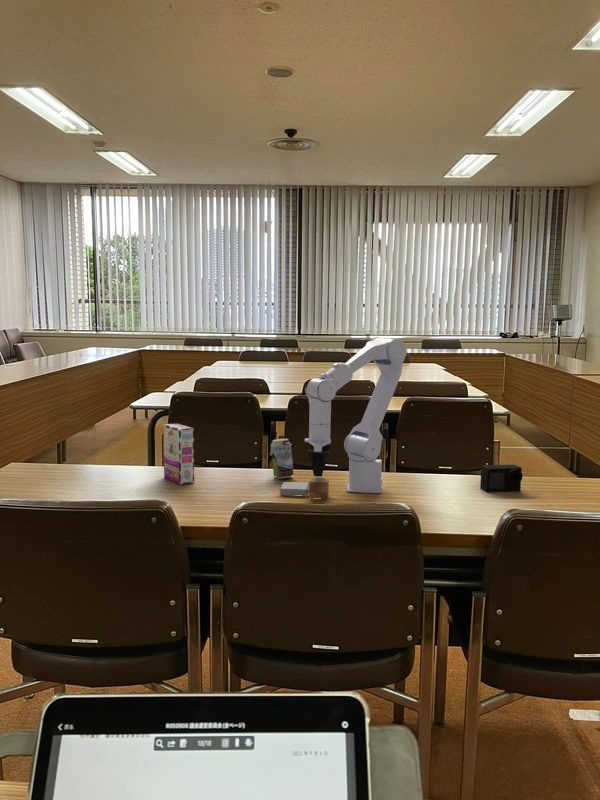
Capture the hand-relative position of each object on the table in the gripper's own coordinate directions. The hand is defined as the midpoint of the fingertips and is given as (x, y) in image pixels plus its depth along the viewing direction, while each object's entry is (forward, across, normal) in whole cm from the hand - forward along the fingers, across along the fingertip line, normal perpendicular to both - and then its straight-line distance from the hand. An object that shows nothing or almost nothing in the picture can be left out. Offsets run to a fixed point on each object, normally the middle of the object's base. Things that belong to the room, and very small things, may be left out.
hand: (319, 472), depth 175 cm
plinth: (+7, -4, -7) cm, 10 cm away
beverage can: (+7, -20, -12) cm, 24 cm away
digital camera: (+7, -14, +51) cm, 54 cm away
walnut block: (+7, 0, 0) cm, 7 cm away
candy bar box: (+7, -13, -42) cm, 45 cm away
